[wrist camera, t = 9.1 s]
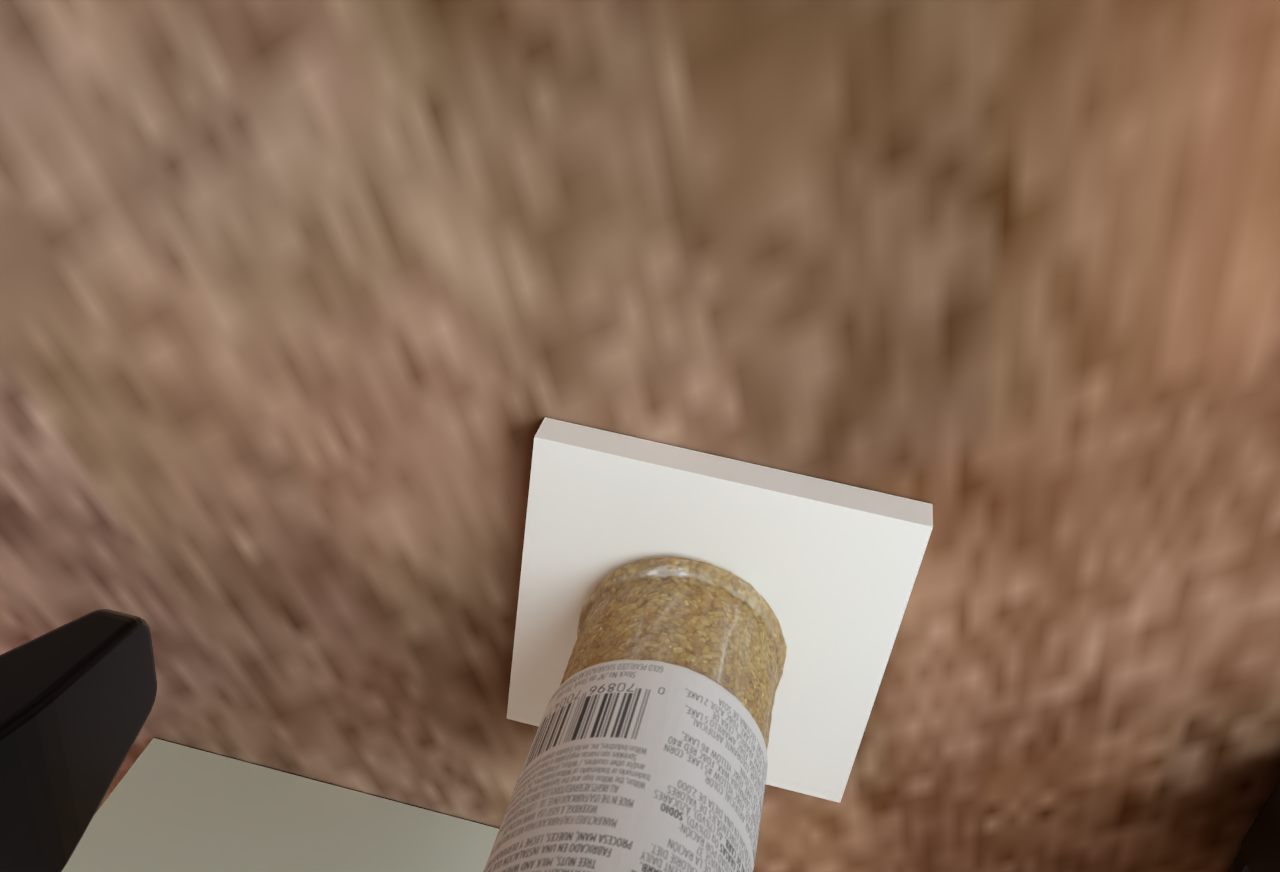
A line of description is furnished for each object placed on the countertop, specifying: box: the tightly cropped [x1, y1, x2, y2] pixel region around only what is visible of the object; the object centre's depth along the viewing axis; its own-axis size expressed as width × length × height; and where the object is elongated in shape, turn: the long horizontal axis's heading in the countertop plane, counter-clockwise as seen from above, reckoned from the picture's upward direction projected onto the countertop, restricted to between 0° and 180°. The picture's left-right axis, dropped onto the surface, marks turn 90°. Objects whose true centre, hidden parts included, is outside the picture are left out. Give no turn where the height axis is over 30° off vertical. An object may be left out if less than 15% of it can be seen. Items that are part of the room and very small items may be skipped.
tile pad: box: [507, 417, 933, 803], centre depth 25 cm, size 8×8×1 cm
